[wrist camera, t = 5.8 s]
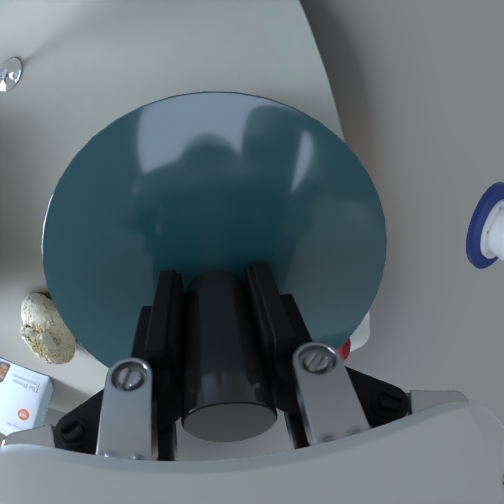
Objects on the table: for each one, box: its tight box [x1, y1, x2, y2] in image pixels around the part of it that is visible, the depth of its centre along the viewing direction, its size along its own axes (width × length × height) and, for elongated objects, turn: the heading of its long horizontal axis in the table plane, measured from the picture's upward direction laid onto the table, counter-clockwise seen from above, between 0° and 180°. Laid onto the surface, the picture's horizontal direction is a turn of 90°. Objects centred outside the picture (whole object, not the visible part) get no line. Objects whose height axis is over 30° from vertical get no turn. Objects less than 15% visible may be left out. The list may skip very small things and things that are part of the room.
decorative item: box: [21, 293, 76, 364], centre depth 33 cm, size 12×9×10 cm
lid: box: [42, 92, 387, 442], centre depth 9 cm, size 15×15×7 cm
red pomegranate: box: [337, 338, 351, 363], centre depth 41 cm, size 6×6×8 cm
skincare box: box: [0, 358, 54, 435], centre depth 32 cm, size 21×5×16 cm, turn 73°
